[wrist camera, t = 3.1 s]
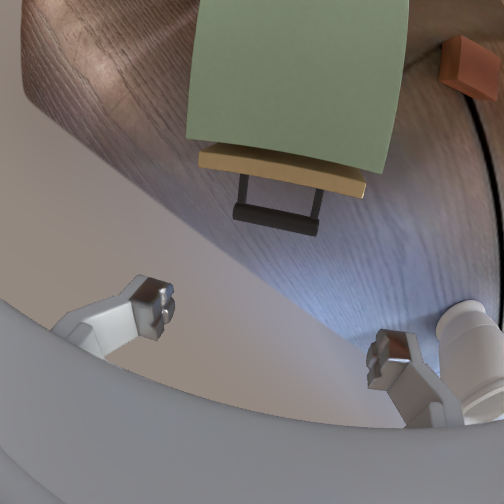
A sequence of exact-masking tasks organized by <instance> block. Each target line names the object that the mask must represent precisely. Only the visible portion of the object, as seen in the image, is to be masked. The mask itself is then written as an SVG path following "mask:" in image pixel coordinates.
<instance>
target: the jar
mask: <svg viewBox="0 0 504 504" xmlns="http://www.w3.org/2000/svg"><path fill="white" fill-rule="evenodd" d="M436 336H437V338H438V340H439V341H440V344H439V362H440V379H441V380H442V381H443V382H444V383H445V385H446V386H447V387H448V388H449V389H450V390H451V391H452V392H453V394H454V395H455V396H456V397H457V398H458V399H459V400H460V404H461V408H462V413H463V418H464V423H465V425H471V424H479V423H485V422H492V421H494V420H495V419H497V418H499V417H500V416H502V415H503V414H504V334H503V333H502V332H501V331H500V329H499V327H498V326H497V324H496V323H495V322H494V321H493V320H492V319H491V318H490V317H489V316H488V315H486V312H485V308H484V306H483V305H482V304H481V303H480V302H478V301H475V300H467V301H463V302H460V303H458V304H456V305H454V306H452V307H451V308H450V309H448V310H447V311H446V312H445V313H444V314H443V315H442V317H441V318H440V320H439V321H438V323H437V326H436Z"/></svg>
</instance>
